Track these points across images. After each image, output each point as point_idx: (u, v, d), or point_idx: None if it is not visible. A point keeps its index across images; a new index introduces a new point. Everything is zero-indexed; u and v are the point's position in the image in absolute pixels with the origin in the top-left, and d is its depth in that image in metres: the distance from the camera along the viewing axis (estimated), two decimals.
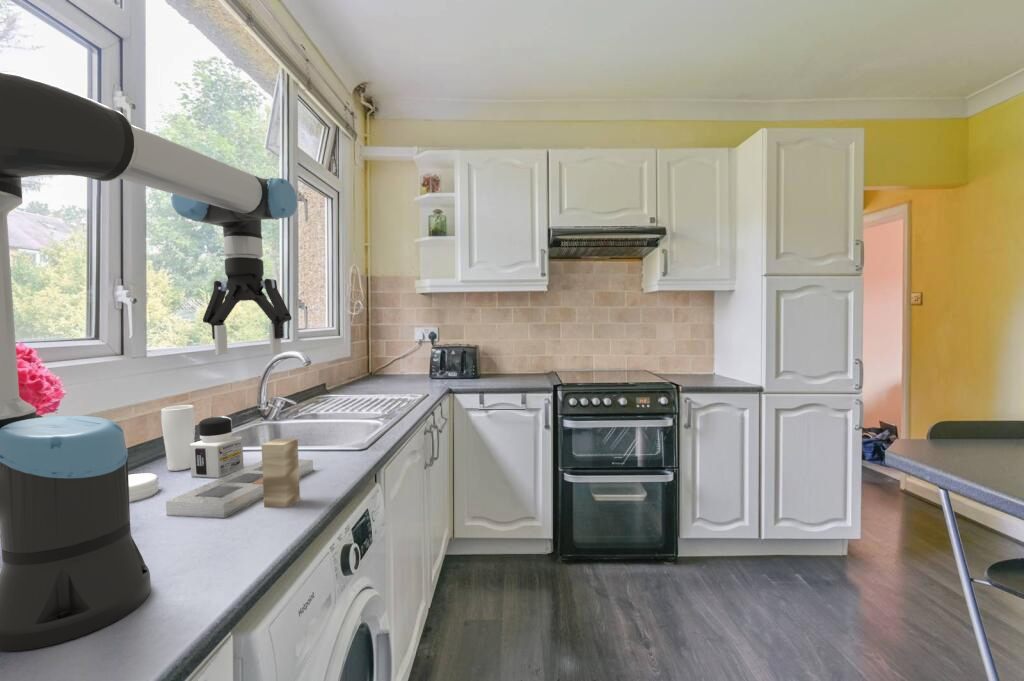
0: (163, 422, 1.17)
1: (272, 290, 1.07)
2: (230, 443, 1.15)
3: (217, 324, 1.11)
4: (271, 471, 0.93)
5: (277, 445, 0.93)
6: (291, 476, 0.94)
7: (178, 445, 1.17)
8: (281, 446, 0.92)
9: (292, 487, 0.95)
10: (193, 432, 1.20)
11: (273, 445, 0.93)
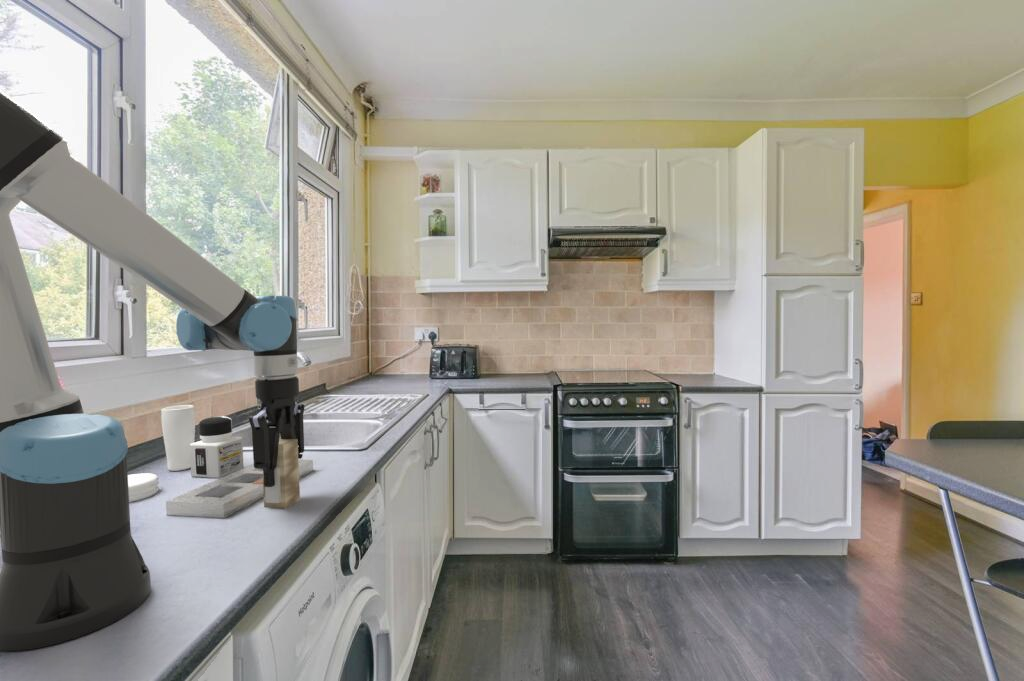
0: (163, 422, 1.17)
1: (254, 430, 0.89)
2: (230, 443, 1.15)
3: None
4: None
5: None
6: (291, 476, 0.95)
7: (178, 445, 1.17)
8: (281, 446, 0.92)
9: (292, 487, 0.95)
10: (193, 432, 1.20)
11: None
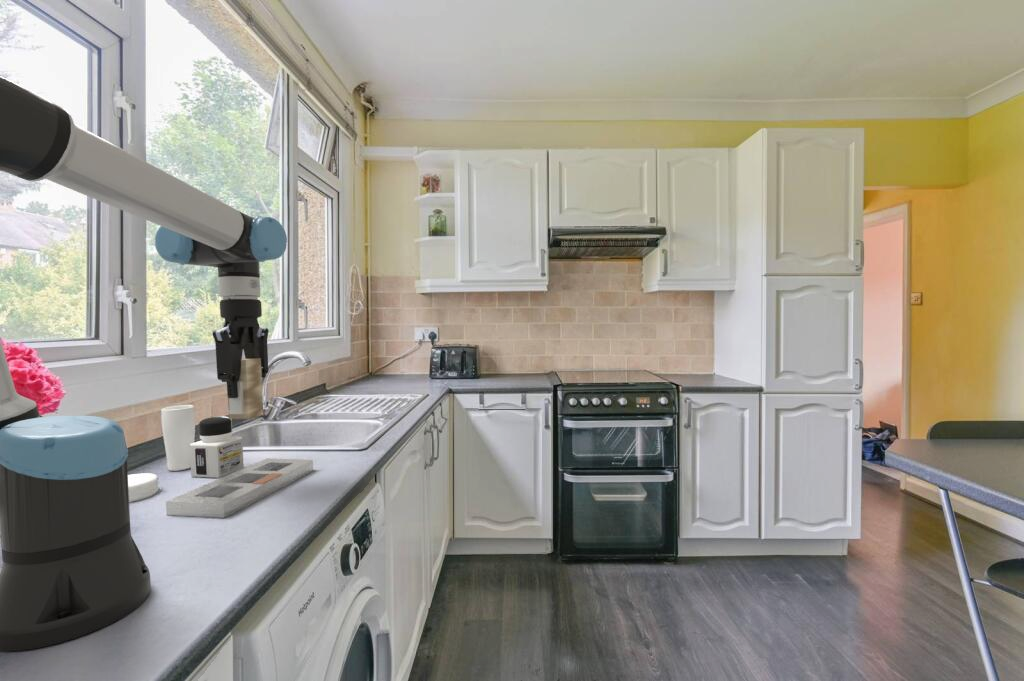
0: (163, 422, 1.17)
1: (217, 344, 0.96)
2: (230, 443, 1.15)
3: None
4: None
5: None
6: (254, 391, 1.02)
7: (178, 445, 1.17)
8: (244, 361, 1.00)
9: (255, 401, 1.02)
10: (193, 432, 1.20)
11: None
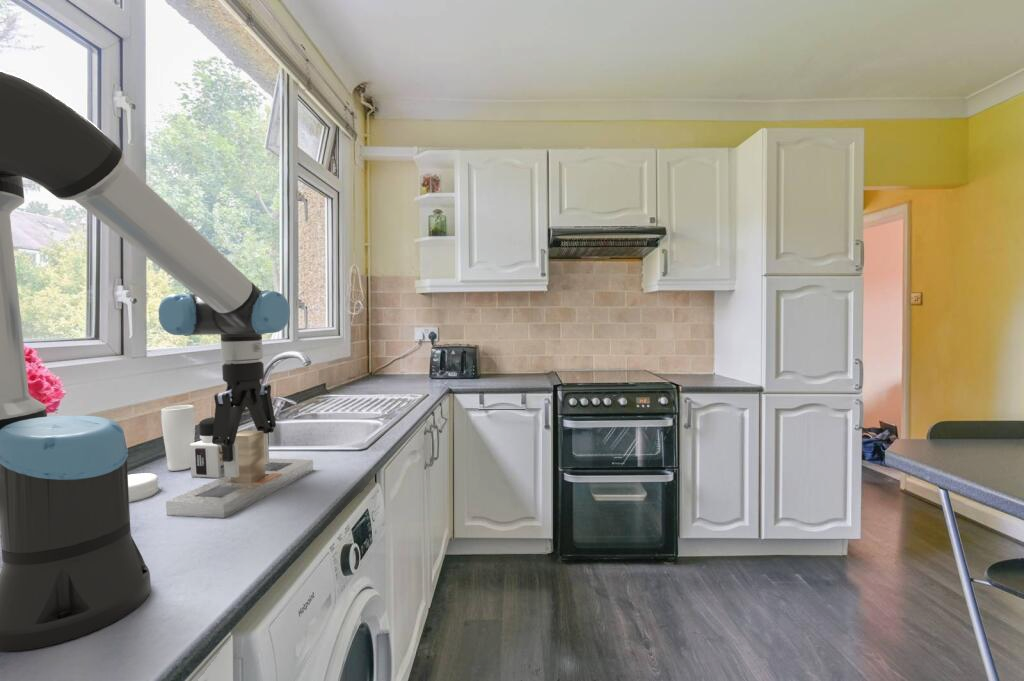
0: (163, 422, 1.17)
1: (217, 407, 0.96)
2: None
3: None
4: None
5: (243, 436, 1.01)
6: (256, 465, 1.02)
7: (178, 445, 1.17)
8: (247, 437, 1.00)
9: (257, 475, 1.03)
10: (193, 432, 1.20)
11: (239, 436, 1.01)
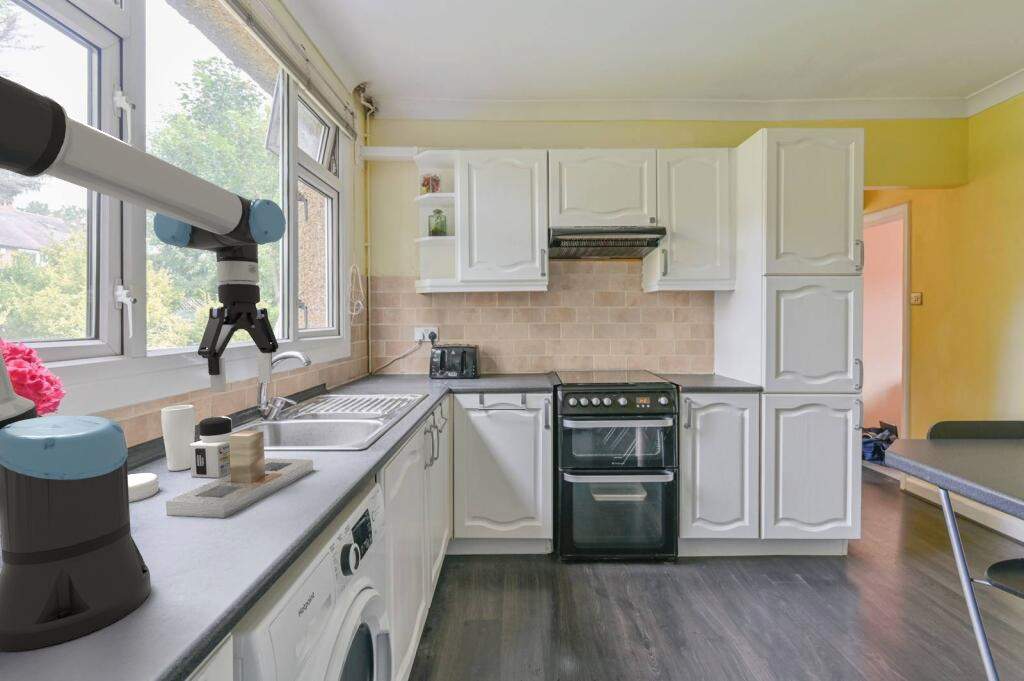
0: (163, 422, 1.17)
1: (210, 320, 0.95)
2: None
3: (263, 352, 1.09)
4: (237, 460, 1.01)
5: (243, 436, 1.01)
6: (256, 465, 1.02)
7: (178, 445, 1.17)
8: (247, 437, 1.00)
9: (257, 475, 1.03)
10: (193, 432, 1.20)
11: (239, 436, 1.01)
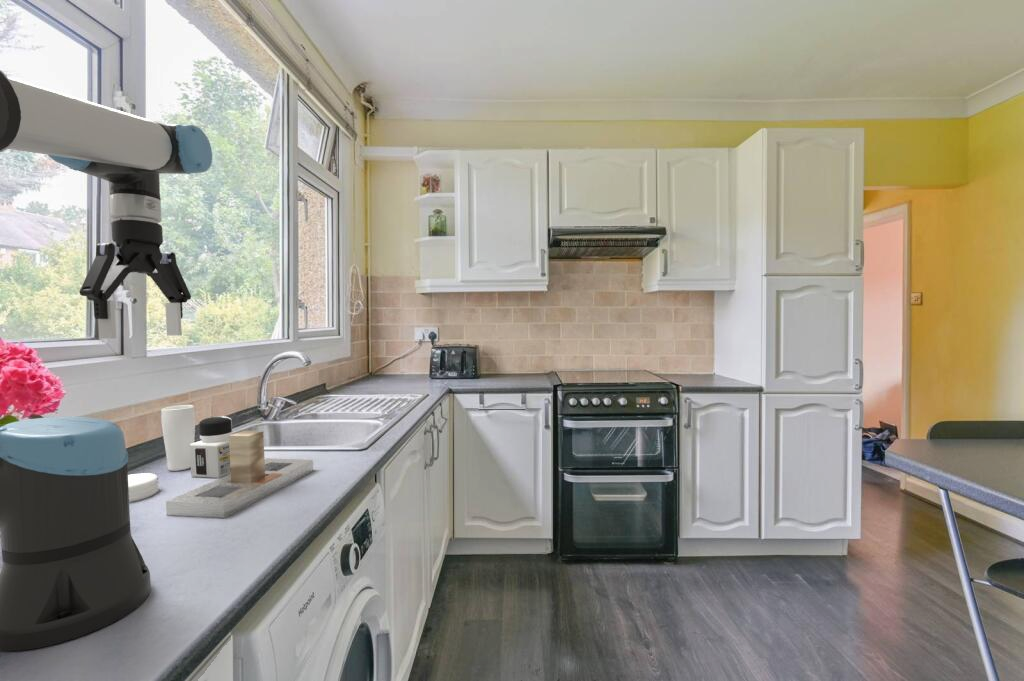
0: (163, 422, 1.17)
1: (97, 257, 0.85)
2: None
3: (172, 302, 0.99)
4: (237, 460, 1.01)
5: (243, 436, 1.01)
6: (256, 465, 1.02)
7: (178, 445, 1.17)
8: (247, 437, 1.00)
9: (257, 475, 1.03)
10: (193, 432, 1.20)
11: (239, 436, 1.01)
